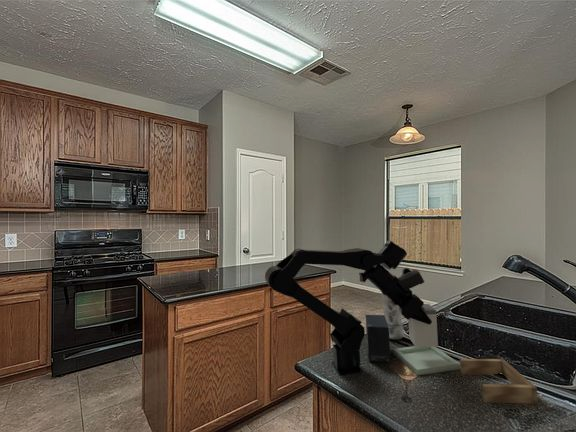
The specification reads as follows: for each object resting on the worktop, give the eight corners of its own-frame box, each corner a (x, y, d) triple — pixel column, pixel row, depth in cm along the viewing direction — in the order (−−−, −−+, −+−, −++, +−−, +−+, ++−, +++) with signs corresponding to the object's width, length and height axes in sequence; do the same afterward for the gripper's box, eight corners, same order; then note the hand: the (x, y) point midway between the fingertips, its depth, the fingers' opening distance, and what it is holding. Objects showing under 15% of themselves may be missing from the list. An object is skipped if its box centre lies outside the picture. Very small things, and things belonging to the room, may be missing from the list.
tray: (417, 375, 78) (417, 369, 78) (393, 354, 90) (393, 349, 90) (459, 368, 80) (459, 363, 80) (430, 348, 92) (430, 343, 92)
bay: (485, 402, 66) (484, 386, 66) (460, 372, 78) (459, 358, 78) (537, 403, 64) (536, 387, 64) (504, 372, 77) (503, 359, 77)
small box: (392, 363, 85) (389, 326, 85) (368, 362, 86) (366, 326, 86) (387, 346, 95) (385, 314, 95) (366, 346, 96) (364, 314, 96)
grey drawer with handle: (415, 346, 82) (413, 308, 82) (409, 337, 88) (407, 302, 88) (438, 346, 81) (436, 308, 81) (430, 337, 87) (428, 301, 87)
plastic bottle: (398, 344, 96) (395, 282, 96) (379, 338, 101) (376, 280, 101) (407, 337, 101) (404, 278, 101) (389, 332, 106) (386, 276, 106)
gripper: (413, 267, 76) (461, 309, 74) (397, 256, 94) (435, 290, 93) (383, 298, 77) (430, 340, 76) (373, 281, 96) (410, 315, 94)
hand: (427, 319), depth 85 cm, fingers closed on grey drawer with handle, 6 cm apart
